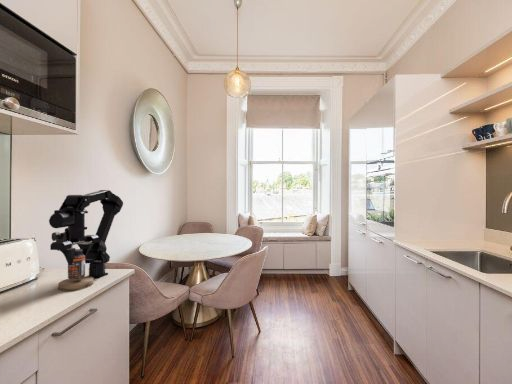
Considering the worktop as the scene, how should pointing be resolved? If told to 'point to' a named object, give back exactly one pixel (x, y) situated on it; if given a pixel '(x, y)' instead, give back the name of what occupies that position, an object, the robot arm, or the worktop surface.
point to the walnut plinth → (75, 284)
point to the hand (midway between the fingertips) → (76, 262)
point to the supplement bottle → (77, 265)
